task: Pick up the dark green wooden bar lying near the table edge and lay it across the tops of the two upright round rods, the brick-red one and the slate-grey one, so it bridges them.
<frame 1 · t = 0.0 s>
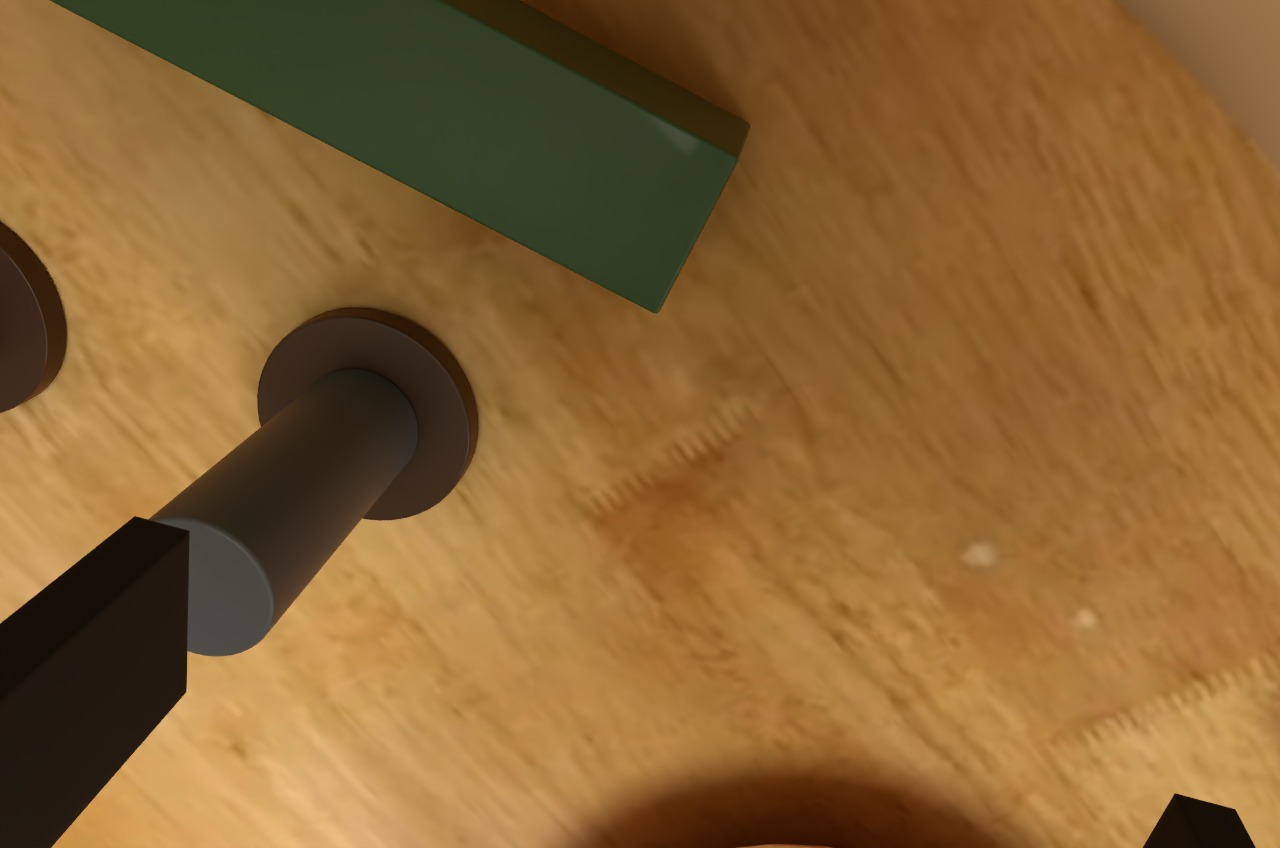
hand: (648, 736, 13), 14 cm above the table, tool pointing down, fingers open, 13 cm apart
grey rod: (373, 411, 28), on the table
green bar: (413, 32, 23), on the table
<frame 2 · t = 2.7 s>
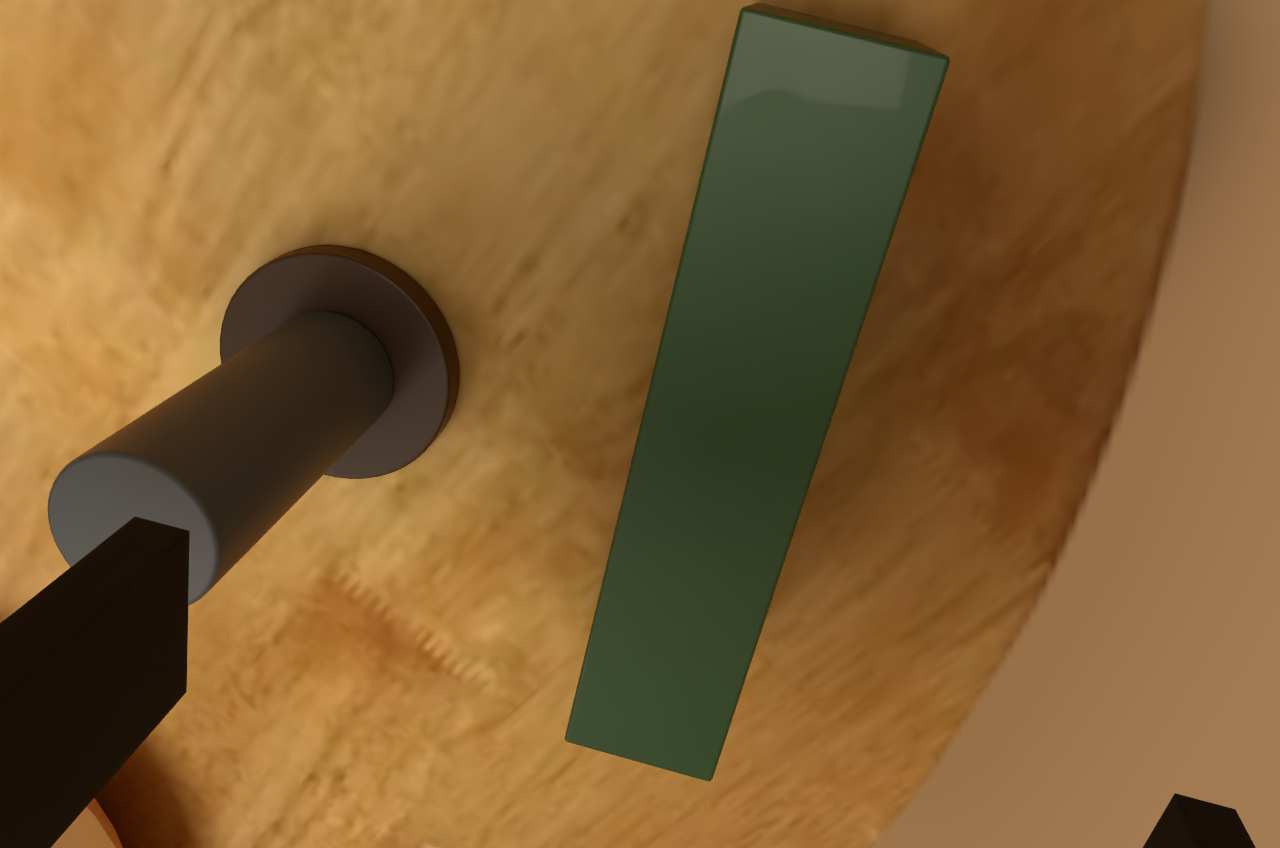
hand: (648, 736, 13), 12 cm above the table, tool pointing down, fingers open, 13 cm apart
grey rod: (346, 360, 26), on the table
green bar: (738, 371, 24), on the table
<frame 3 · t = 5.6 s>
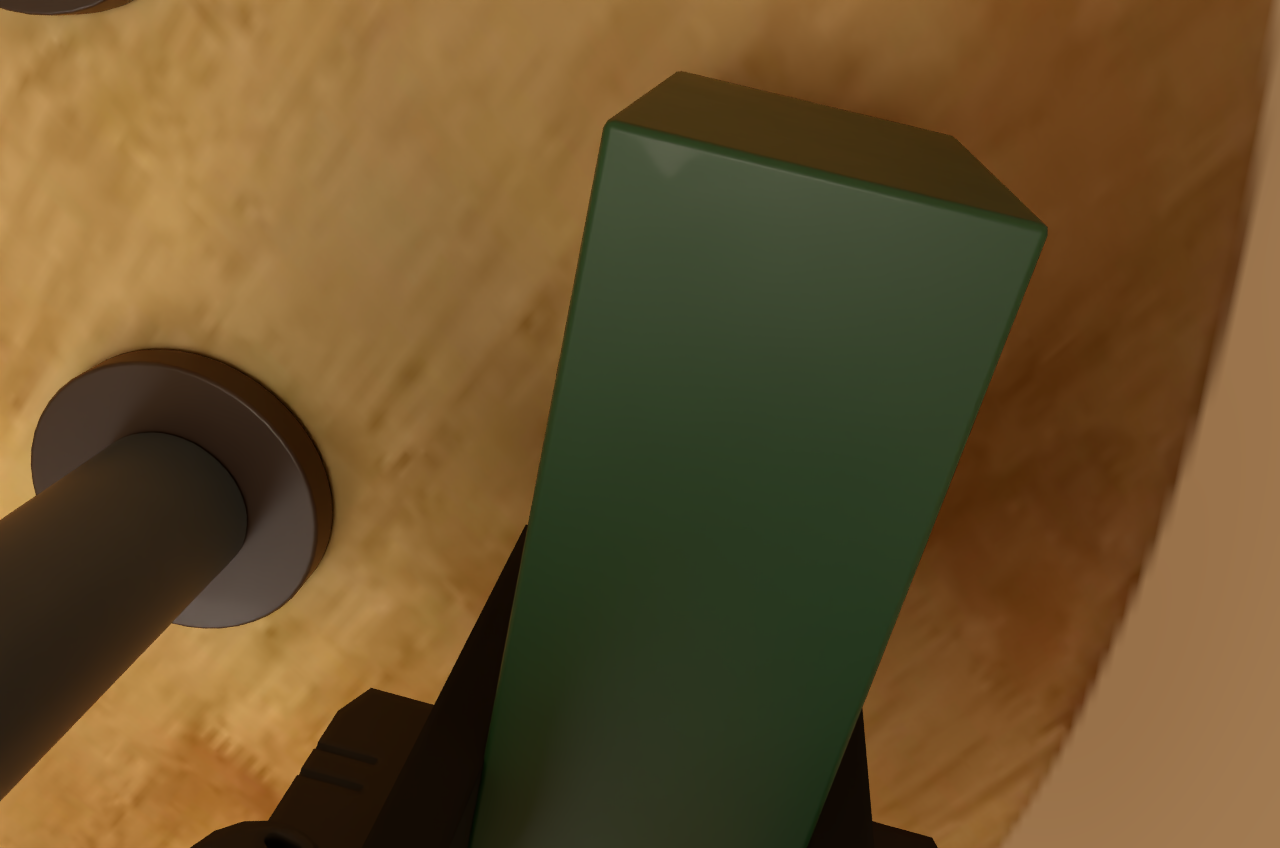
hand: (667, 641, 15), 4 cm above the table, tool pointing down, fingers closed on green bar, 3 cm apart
grey rod: (193, 485, 21), on the table
green bar: (670, 629, 15), point 4 cm above the table, touching gripper
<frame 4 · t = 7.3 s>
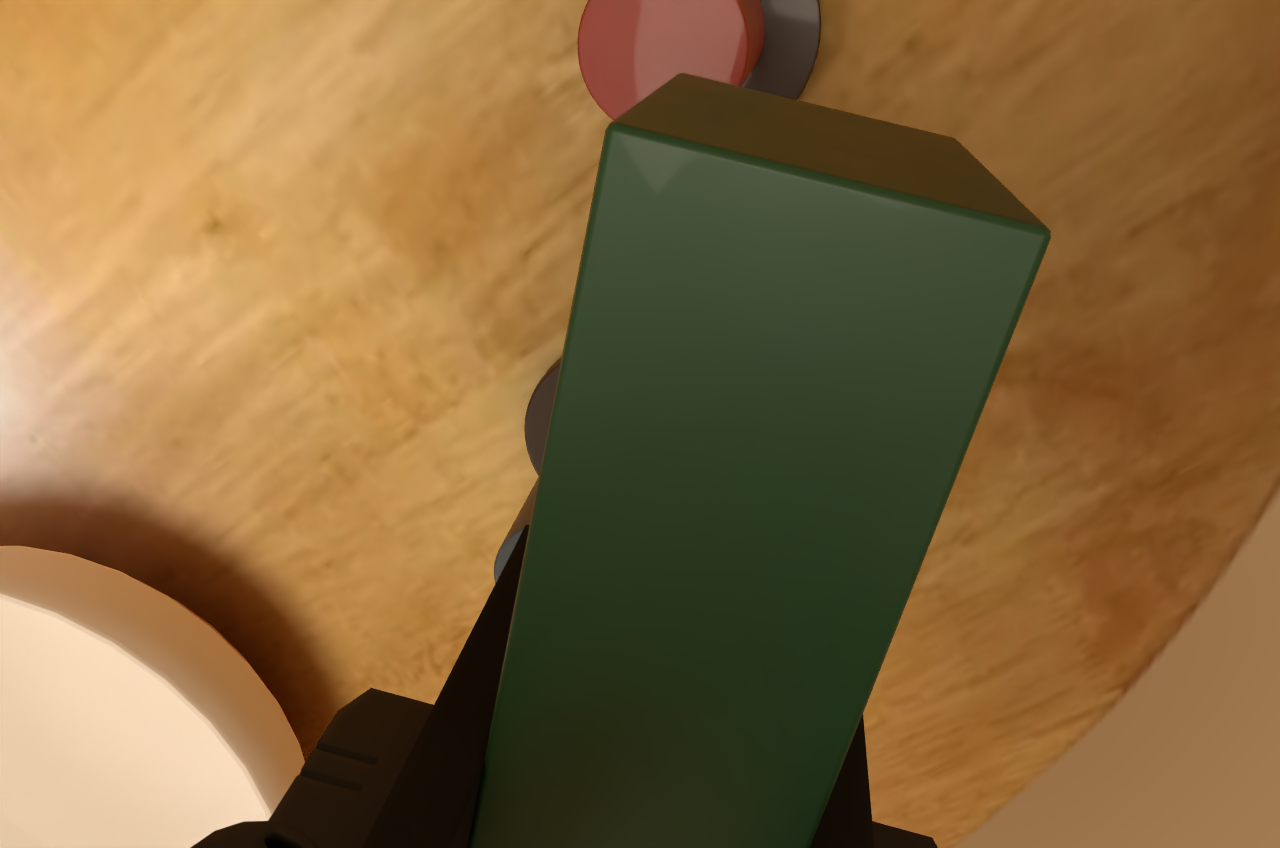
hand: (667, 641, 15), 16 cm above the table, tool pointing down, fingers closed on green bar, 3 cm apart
grey rod: (622, 429, 32), on the table
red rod: (706, 30, 27), on the table
green bar: (671, 631, 15), point 16 cm above the table, touching gripper
bowl: (131, 703, 40), on the table
when the fingers open (9 cm above the table, at t = 9.3 s): green bar stays where it is, resting on grey rod, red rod.
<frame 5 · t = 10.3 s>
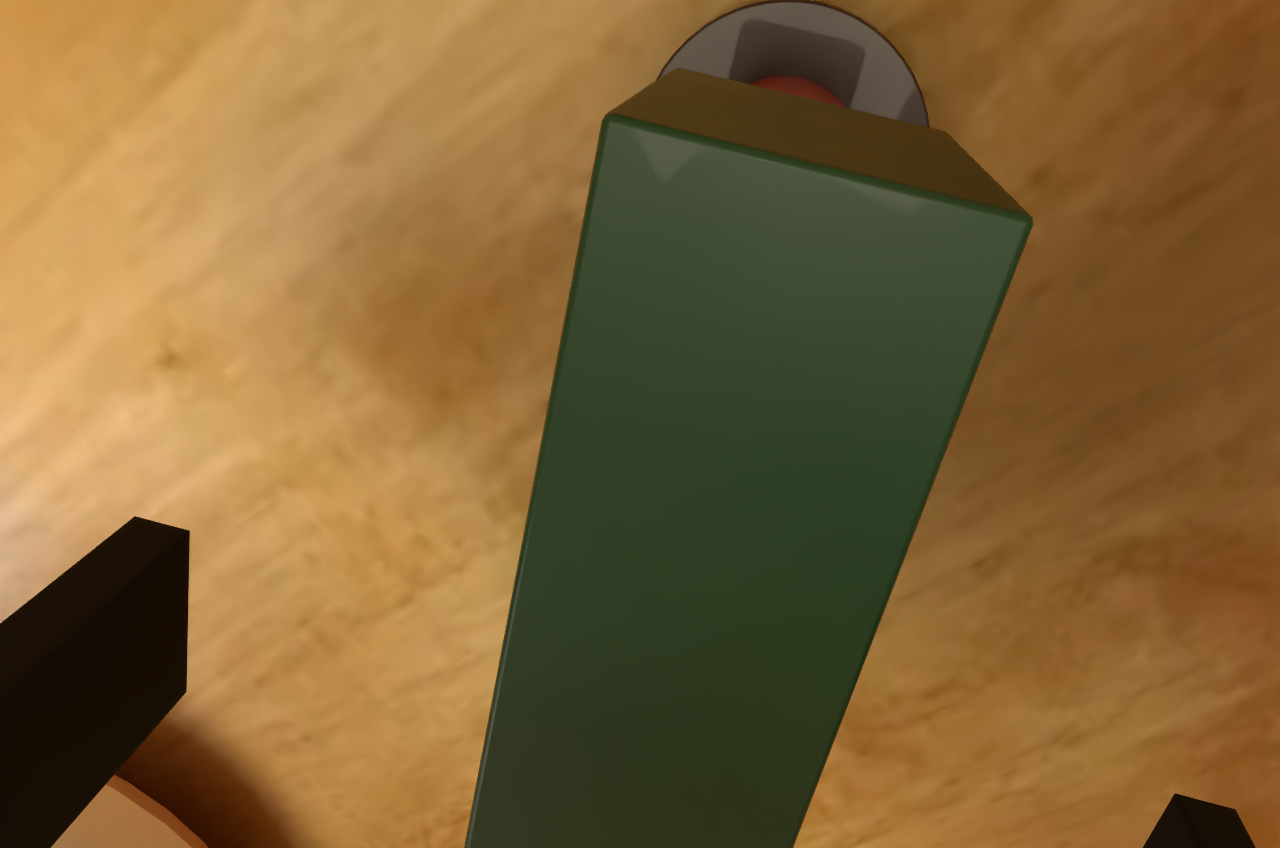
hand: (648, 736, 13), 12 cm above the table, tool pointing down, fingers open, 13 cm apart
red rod: (781, 151, 21), on the table
green bar: (668, 617, 16), point 9 cm above the table, touching grey rod, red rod
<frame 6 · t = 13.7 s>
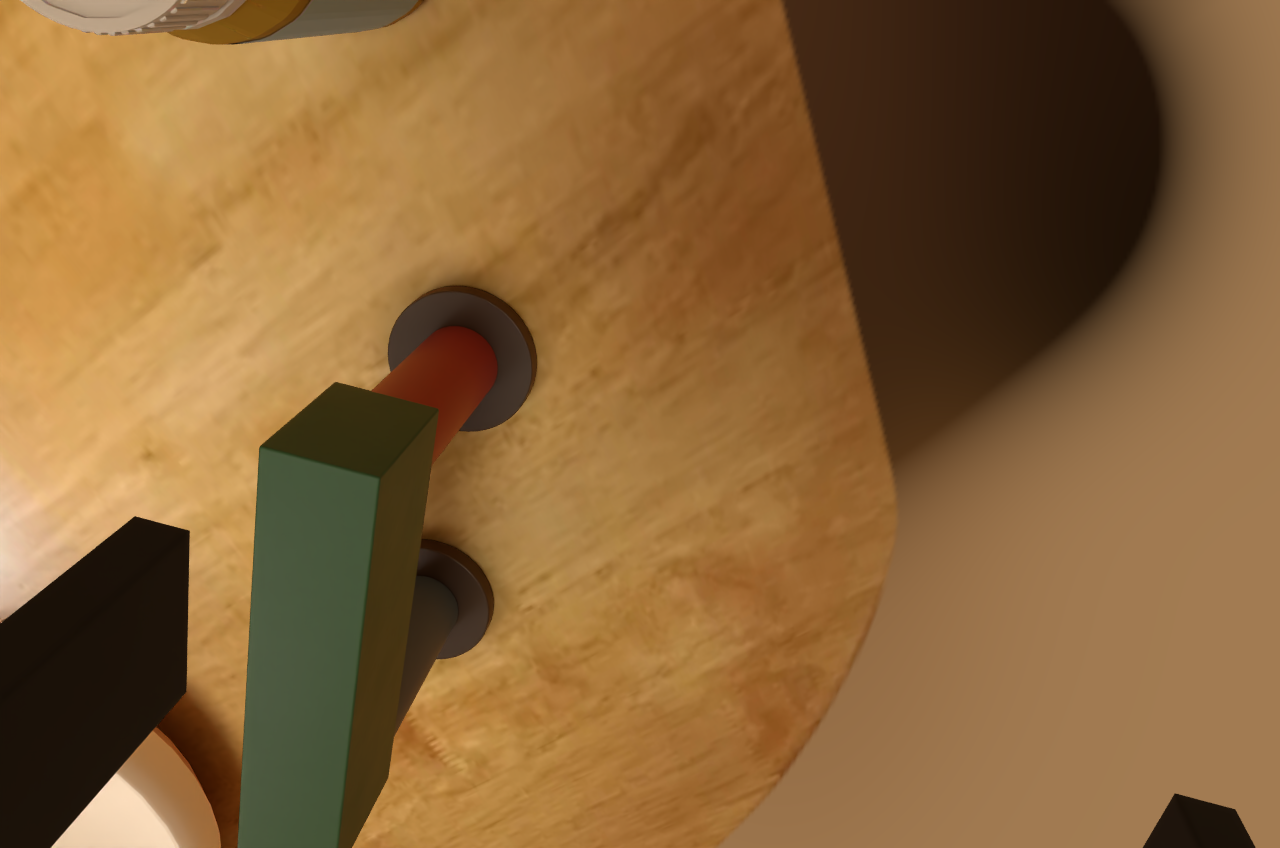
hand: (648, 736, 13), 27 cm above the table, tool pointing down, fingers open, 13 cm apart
grey rod: (430, 595, 46), on the table
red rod: (465, 357, 41), on the table
green bar: (364, 597, 35), point 9 cm above the table, touching grey rod, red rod
bowl: (92, 768, 54), on the table
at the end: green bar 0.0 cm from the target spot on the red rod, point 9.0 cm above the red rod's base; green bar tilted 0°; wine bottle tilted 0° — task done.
